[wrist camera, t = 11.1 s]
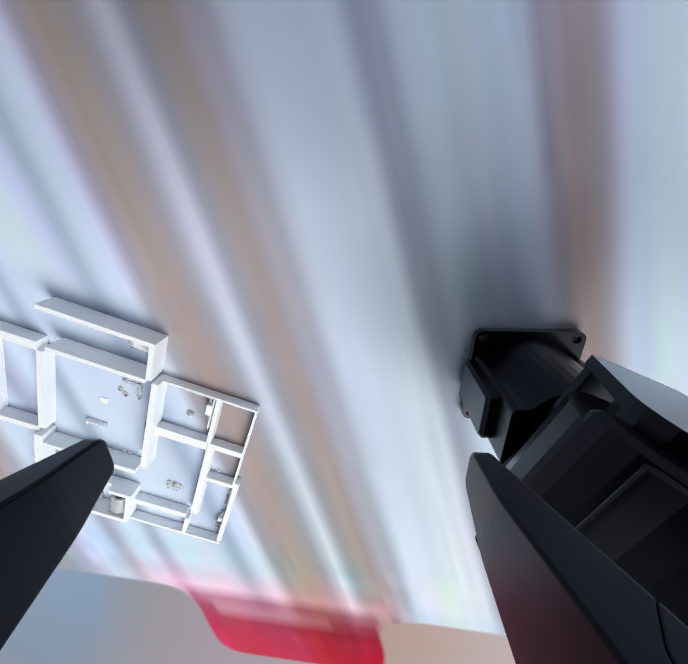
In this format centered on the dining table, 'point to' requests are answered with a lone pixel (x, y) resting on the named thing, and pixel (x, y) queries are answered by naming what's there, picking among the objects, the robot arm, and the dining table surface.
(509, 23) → the dining table surface
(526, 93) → the dining table surface
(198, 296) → the dining table surface
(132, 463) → the floor plan model
